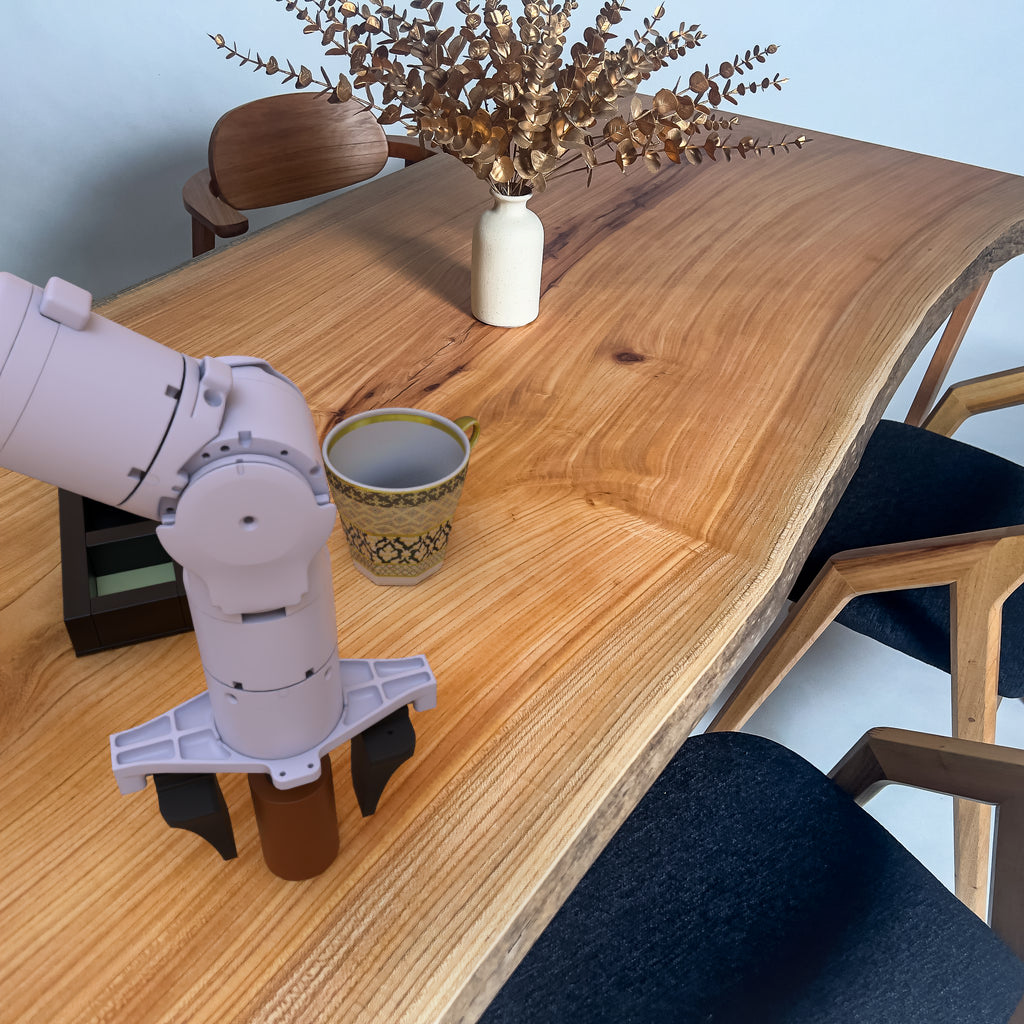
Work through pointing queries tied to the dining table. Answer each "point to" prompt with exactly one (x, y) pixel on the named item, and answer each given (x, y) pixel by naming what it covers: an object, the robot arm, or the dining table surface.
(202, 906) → the dining table surface
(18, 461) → the robot arm
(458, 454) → the ceramic cup
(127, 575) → the holder
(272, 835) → the spice bottle
